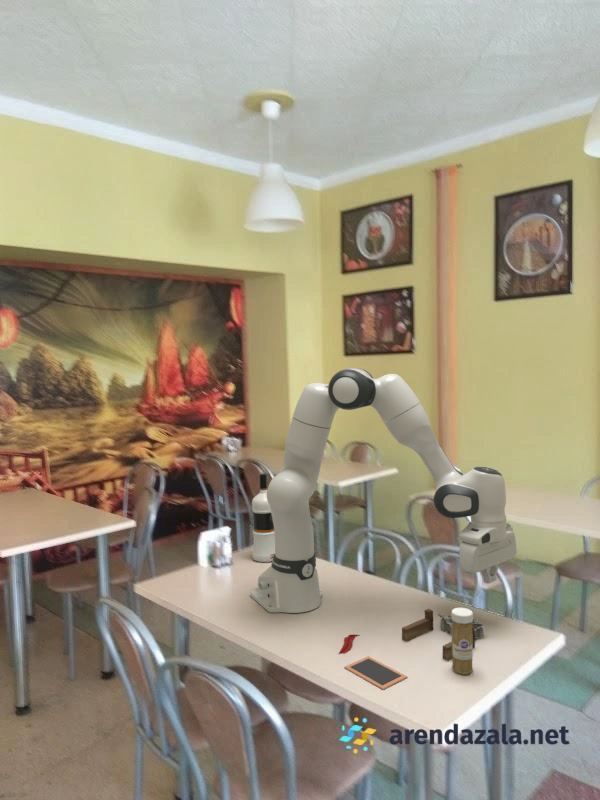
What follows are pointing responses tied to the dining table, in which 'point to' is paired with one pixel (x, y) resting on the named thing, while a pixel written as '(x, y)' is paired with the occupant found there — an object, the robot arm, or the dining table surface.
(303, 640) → the dining table surface
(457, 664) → the sprinkles bottle
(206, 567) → the dining table surface
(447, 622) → the egg carton
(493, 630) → the dining table surface
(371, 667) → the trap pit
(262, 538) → the vodka
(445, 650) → the walled channel
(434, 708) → the dining table surface
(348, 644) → the cayenne pepper
